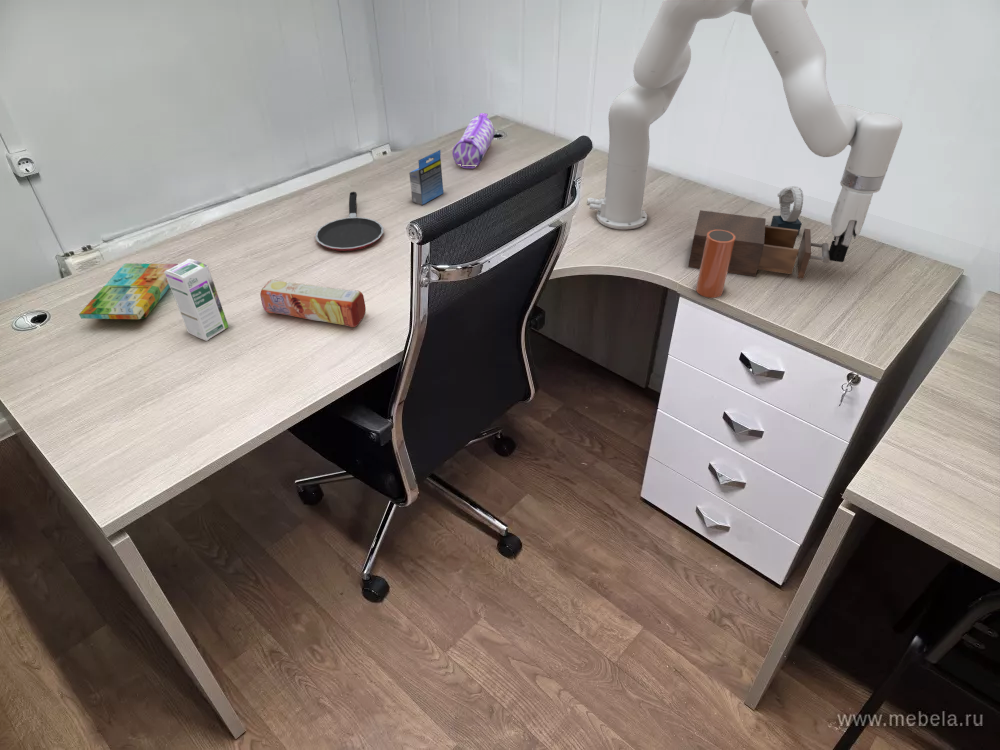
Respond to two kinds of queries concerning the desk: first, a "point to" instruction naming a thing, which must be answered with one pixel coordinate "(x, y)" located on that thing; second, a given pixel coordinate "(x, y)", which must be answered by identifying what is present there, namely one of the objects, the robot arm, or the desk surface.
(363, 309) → the snack package
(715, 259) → the pencil cup
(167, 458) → the desk surface
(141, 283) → the puzzle game
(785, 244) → the drawer
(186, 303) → the syrup box
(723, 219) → the cabinet
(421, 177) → the tape cartridge
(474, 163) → the pencil case
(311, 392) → the desk surface
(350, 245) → the frying pan
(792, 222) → the watch
